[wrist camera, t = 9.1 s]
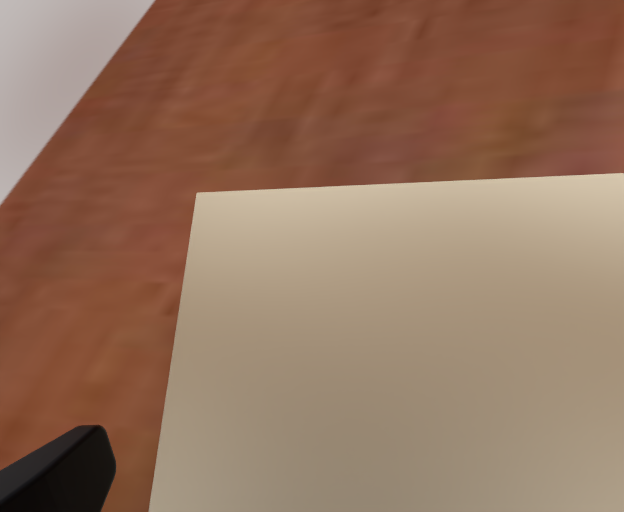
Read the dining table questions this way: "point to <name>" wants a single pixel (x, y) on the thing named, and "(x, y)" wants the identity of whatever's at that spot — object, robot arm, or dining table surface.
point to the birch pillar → (400, 350)
